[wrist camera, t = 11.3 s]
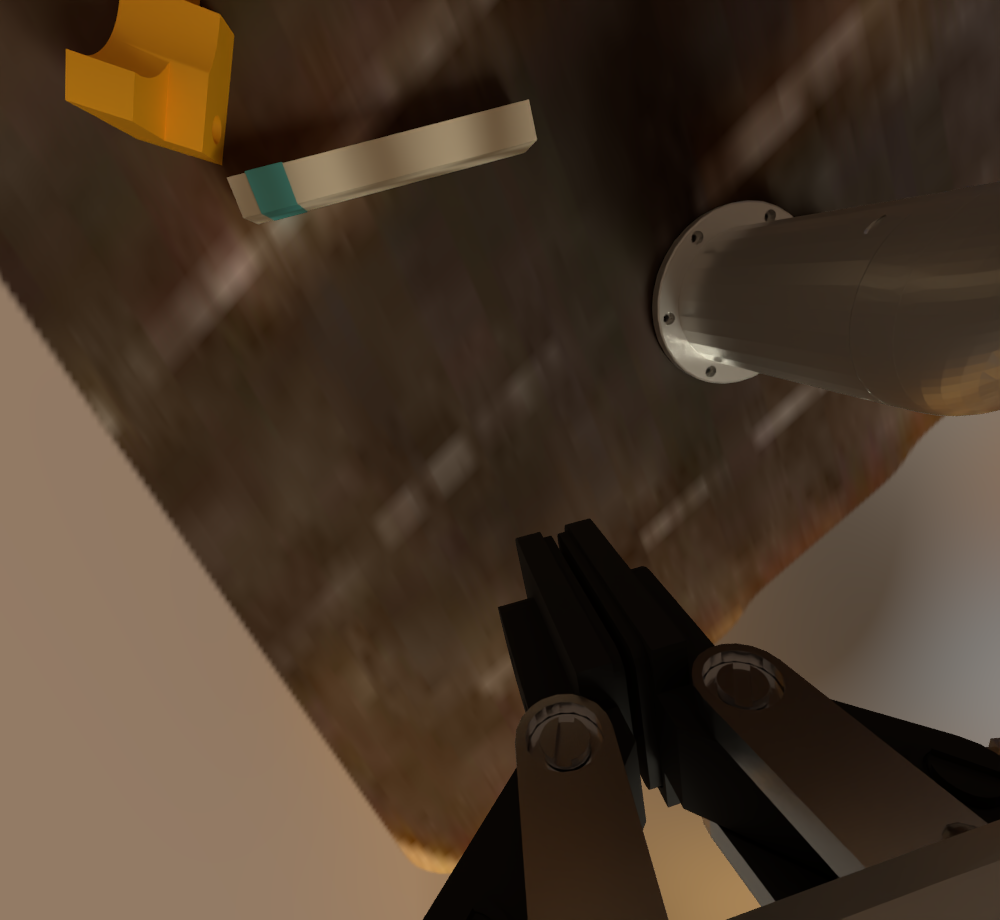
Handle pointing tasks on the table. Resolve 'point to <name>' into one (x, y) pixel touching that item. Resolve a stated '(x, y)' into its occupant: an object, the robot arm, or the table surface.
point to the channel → (383, 163)
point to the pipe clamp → (160, 76)
